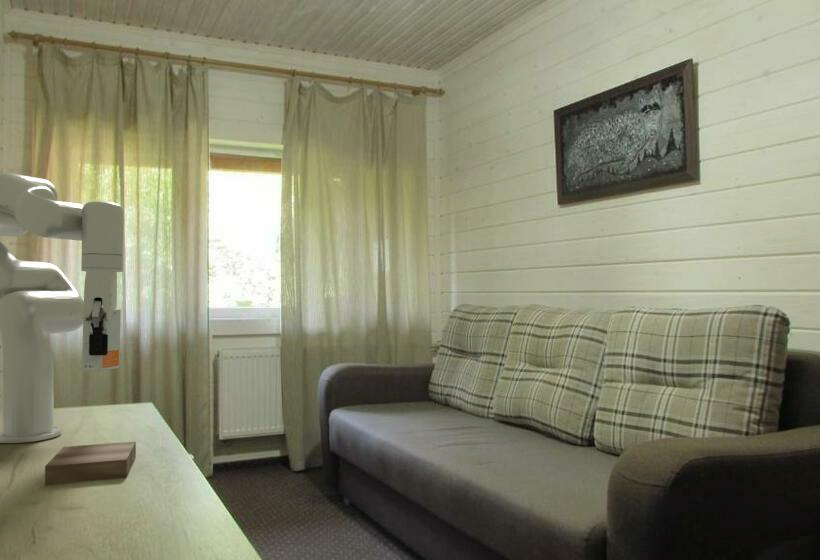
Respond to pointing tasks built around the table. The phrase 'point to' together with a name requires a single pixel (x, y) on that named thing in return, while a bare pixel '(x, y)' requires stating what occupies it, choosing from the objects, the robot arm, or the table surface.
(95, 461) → the block
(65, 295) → the robot arm
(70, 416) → the table surface
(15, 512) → the table surface
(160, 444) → the table surface
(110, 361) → the skincare box
